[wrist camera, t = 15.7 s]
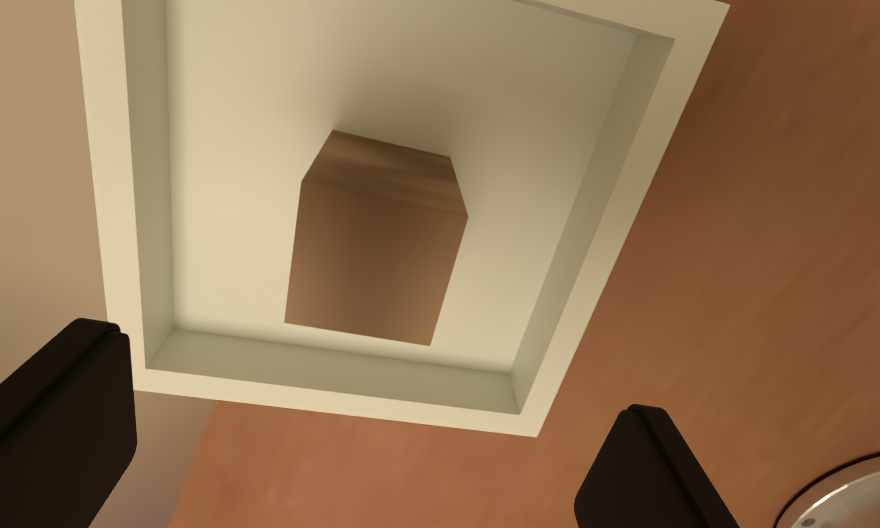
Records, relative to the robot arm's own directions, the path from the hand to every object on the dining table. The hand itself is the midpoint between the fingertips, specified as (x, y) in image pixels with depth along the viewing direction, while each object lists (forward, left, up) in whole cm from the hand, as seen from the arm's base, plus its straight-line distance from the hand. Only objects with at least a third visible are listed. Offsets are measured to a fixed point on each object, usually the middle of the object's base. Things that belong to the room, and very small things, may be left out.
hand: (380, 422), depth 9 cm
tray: (+1, 0, -12) cm, 12 cm away
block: (+1, 0, -11) cm, 11 cm away
